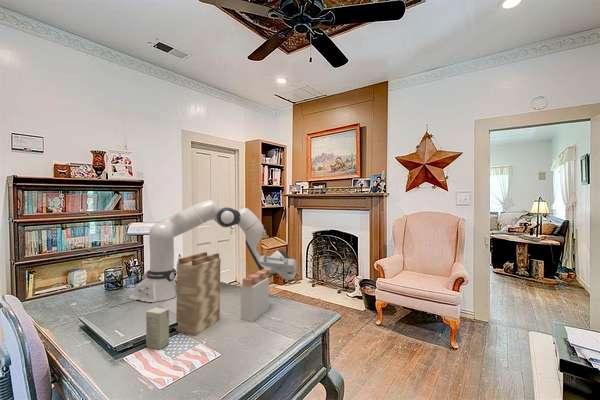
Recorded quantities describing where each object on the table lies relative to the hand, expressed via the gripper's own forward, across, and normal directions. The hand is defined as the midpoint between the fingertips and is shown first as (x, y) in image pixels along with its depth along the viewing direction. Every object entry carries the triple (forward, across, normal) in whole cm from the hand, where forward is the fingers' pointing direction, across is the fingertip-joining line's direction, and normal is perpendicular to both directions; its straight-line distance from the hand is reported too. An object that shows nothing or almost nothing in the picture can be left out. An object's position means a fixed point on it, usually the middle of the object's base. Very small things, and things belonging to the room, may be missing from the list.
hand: (272, 257), depth 143 cm
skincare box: (+35, -18, +47) cm, 62 cm away
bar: (+10, 0, +15) cm, 18 cm away
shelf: (+4, 0, +28) cm, 28 cm away
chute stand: (+20, -15, +38) cm, 45 cm away
